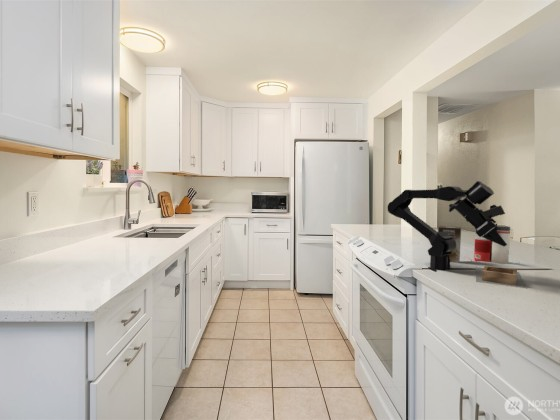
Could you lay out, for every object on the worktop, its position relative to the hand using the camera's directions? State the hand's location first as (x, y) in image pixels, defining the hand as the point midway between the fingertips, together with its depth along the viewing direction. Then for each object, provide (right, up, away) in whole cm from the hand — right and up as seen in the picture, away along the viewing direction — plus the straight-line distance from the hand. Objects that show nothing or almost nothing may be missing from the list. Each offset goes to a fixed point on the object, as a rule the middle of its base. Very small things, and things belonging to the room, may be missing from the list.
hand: (505, 244), depth 110 cm
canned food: (+13, -12, +31) cm, 35 cm away
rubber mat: (0, -13, +3) cm, 13 cm away
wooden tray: (-3, -12, -1) cm, 13 cm away
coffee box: (-4, -12, +30) cm, 32 cm away
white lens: (-1, -7, +1) cm, 7 cm away
